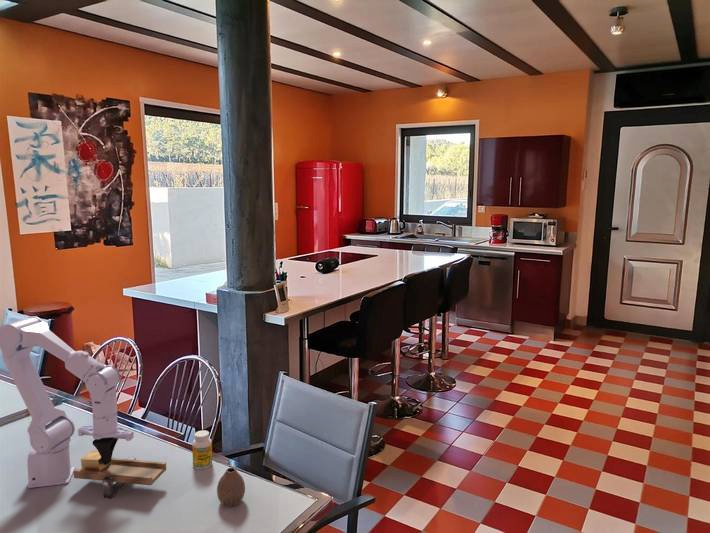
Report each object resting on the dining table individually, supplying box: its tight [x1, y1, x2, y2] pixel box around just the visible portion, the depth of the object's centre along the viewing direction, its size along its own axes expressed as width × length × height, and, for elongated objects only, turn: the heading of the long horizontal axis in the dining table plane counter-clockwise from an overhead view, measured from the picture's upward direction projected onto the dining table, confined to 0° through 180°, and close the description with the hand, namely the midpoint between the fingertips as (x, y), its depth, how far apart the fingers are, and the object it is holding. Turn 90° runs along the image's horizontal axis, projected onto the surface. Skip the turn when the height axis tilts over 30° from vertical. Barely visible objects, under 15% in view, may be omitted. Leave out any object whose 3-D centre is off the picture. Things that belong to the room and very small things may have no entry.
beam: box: [73, 457, 167, 486], centre depth 135 cm, size 22×8×2 cm, turn 81°
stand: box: [102, 456, 137, 499], centre depth 135 cm, size 2×12×5 cm, turn 171°
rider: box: [80, 450, 111, 472], centre depth 135 cm, size 5×5×4 cm
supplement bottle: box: [191, 429, 213, 470], centre depth 146 cm, size 5×5×10 cm
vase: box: [216, 467, 246, 508], centre depth 129 cm, size 7×7×9 cm
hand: (107, 462), depth 135 cm, fingers closed
